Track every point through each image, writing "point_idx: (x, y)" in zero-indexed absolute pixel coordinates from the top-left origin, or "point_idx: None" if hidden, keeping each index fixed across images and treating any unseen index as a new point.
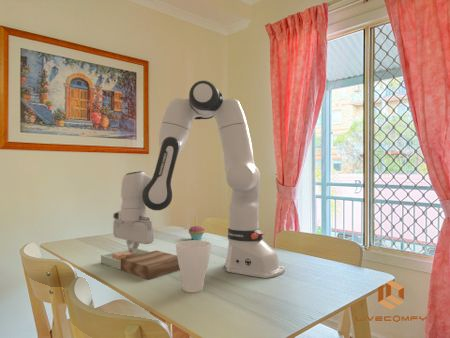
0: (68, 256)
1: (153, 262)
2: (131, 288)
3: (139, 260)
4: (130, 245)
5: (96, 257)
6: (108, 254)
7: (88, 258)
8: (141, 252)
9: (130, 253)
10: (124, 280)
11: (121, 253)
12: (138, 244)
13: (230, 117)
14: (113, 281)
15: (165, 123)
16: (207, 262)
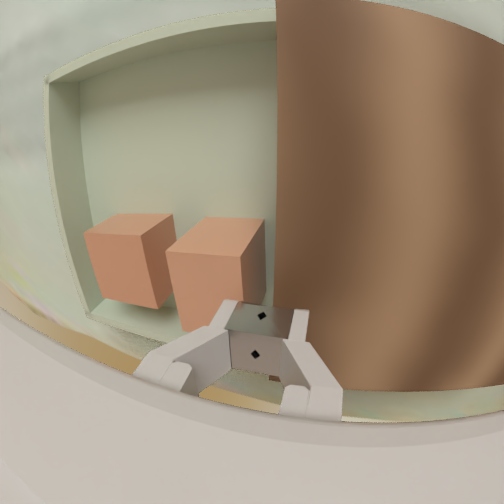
0: (15, 285)
1: None
2: (471, 407)
3: (424, 354)
4: (211, 368)
5: (36, 244)
6: (81, 285)
7: (40, 270)
8: (107, 63)
9: (222, 294)
10: (413, 393)
11: (115, 259)
12: (335, 389)
13: None
14: (381, 412)
15: None
16: None
